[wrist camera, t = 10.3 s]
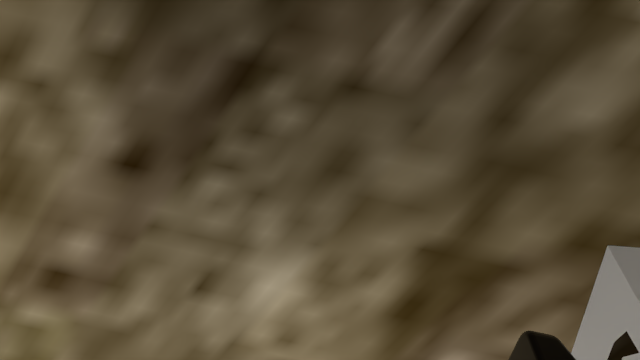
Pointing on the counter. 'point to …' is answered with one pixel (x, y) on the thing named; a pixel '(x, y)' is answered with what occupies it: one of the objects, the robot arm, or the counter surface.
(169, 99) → the counter surface
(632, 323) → the grater
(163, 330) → the counter surface
